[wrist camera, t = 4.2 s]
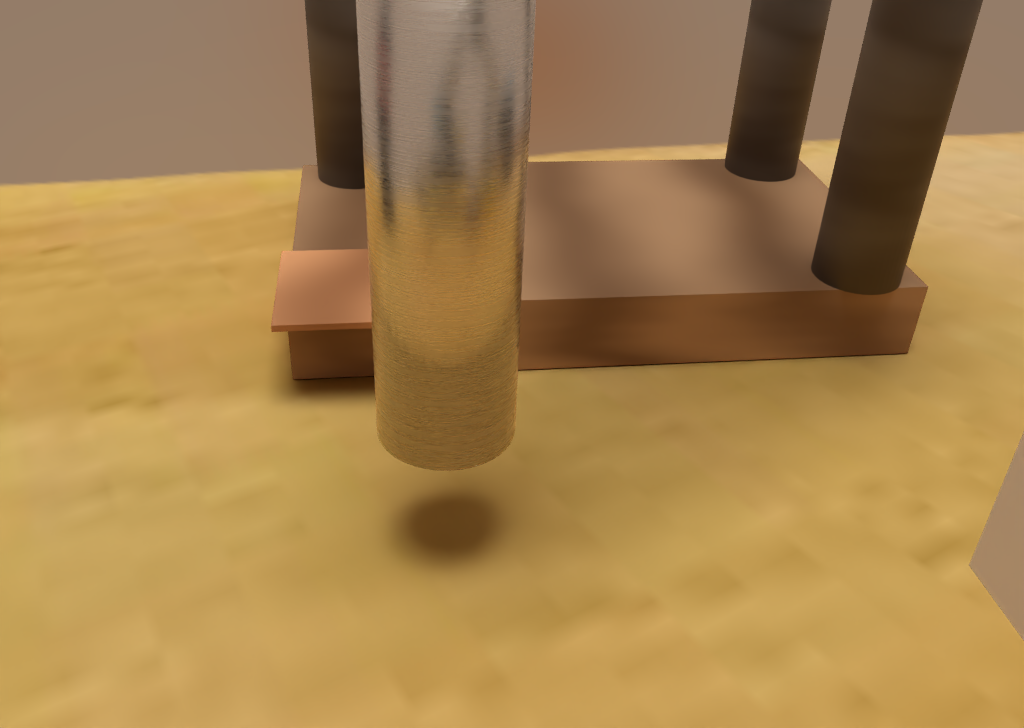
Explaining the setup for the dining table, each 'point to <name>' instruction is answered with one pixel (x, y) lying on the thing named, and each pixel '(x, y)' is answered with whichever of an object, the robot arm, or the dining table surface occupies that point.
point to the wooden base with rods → (673, 212)
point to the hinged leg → (445, 219)
